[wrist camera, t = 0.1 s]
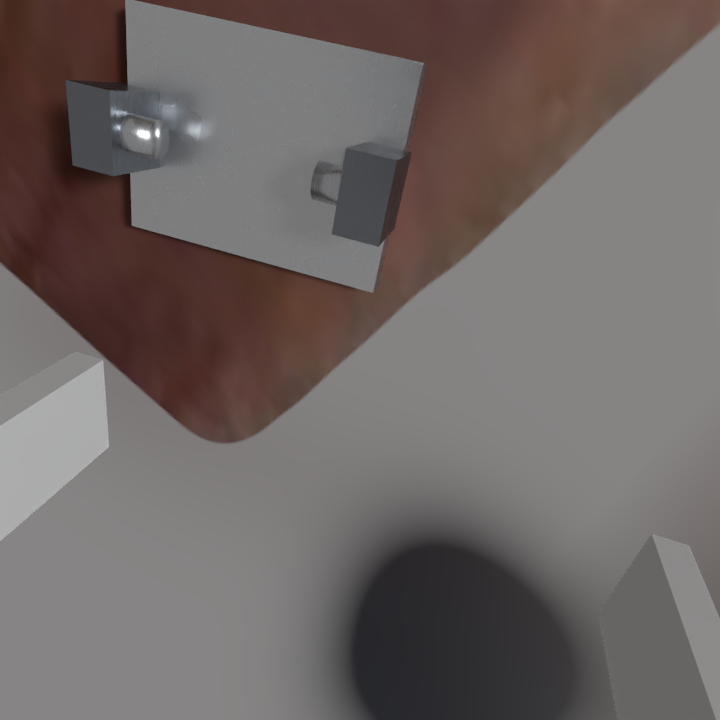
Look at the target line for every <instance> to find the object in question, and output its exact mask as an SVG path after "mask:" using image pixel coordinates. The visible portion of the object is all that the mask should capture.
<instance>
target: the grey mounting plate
mask: <svg viewBox="0 0 720 720" xmlns="http://www.w3.org/2000/svg"><path fill="white" fill-rule="evenodd" d="M125 6H126V41H127V76H128V85H127V84H123V83H112V82H94V81H76V80H66V90H67V102H68V115H69V127H70V139H71V151H72V164H73V166H77V167H81V168H84V169H88V170H92V171H96V172H99V173H103V174H107V175H111V176H117V175H123V174H128V173H130V180H131V215H132V226H135V227H138V228H142V229H145V230H149V231H153V232H156V233H160V234H163V235H167V236H171V237H174V238H178V239H181V240H185V241H188V242H192V243H196V244H199V245H203V246H206V247H210V248H214V249H217V250H221V251H224V252H228V253H232V254H235V255H239V256H242V257H246V258H250V259H253V260H257V261H260V262H264V263H267V264H271V265H275V266H278V267H282V268H285V269H289V270H293V271H296V272H300V273H303V274H307V275H311V276H314V277H318V278H321V279H325V280H328V281H332V282H336V283H339V284H343V285H346V286H350V287H354V288H357V289H361V290H364V291H368V292H372V293H373V292H374V291H375V289H376V288H377V286H378V285H379V281H380V276H381V272H382V267H383V263H384V258H385V254H386V249H387V245H388V241H389V236H390V233H391V232H392V231H393V230H394V228H395V224H396V219H397V215H398V210H399V206H400V202H401V197H402V193H403V188H404V184H405V180H406V175H407V171H408V166H409V162H410V158H411V152H408V151H409V147H410V142H411V138H412V133H413V129H414V125H415V120H416V116H417V111H418V107H419V102H420V98H421V93H422V89H423V84H424V80H425V75H426V71H427V67H428V65H427V64H425V63H422V62H417V61H413V60H408V59H403V58H399V57H394V56H389V55H385V54H380V53H376V52H371V51H366V50H362V49H357V48H352V47H348V46H343V45H339V44H334V43H329V42H325V41H320V40H315V39H311V38H306V37H302V36H297V35H292V34H288V33H283V32H278V31H274V30H269V29H265V28H260V27H255V26H251V25H246V24H241V23H237V22H232V21H227V20H223V19H218V18H214V17H209V16H204V15H200V14H195V13H190V12H186V11H181V10H177V9H172V8H167V7H163V6H158V5H153V4H149V3H144V2H140V1H135V0H125Z"/></svg>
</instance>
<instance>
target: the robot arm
mask: <svg viewBox="0 0 720 720" xmlns="http://www.w3.org/2000/svg"><path fill="white" fill-rule="evenodd" d="M108 447H109V440H108V425H107V410H106V395H105V379H104V364H103V360H102V359H99V358H96V357H93V356H89V355H86V354H83V353H80V352H77V351H75V352H73V353H72V354H70V355H68V356H67V357H65V358H63V359H61V360H60V361H58V362H56V363H54V364H53V365H51V366H49V367H48V368H46V369H44V370H42V371H41V372H39V373H37V374H36V375H34V376H32V377H30V378H28V379H27V380H25V381H23V382H22V383H20V384H18V385H16V386H15V387H13V388H11V389H9V390H8V391H6V392H4V393H3V394H1V395H0V541H1V540H2V539H3V538H4V537H6V536H7V535H8V534H9V533H10V532H11V531H12V530H14V529H15V528H16V527H17V526H18V525H19V524H21V523H22V522H23V521H24V520H25V519H26V518H27V517H29V516H30V515H31V514H32V513H33V512H34V511H36V510H37V508H39V507H40V506H41V505H42V504H44V503H45V502H46V501H47V500H48V499H49V498H51V497H52V496H53V495H54V494H55V493H56V492H57V491H58V490H60V489H61V488H62V487H63V486H64V485H65V484H67V483H68V482H69V481H70V480H71V479H72V478H73V477H75V476H76V475H77V474H78V473H79V472H80V471H81V470H83V469H84V468H85V467H86V466H87V465H88V464H90V463H91V462H92V461H93V460H94V459H95V458H96V457H98V456H99V455H100V454H101V453H102V452H103V451H105V450H106V449H107V448H108ZM598 617H599V623H600V628H601V633H602V639H603V644H604V649H605V655H606V660H607V666H608V671H609V677H610V681H611V687H612V692H613V698H614V703H615V709H616V714H617V720H720V618H719V616H718V613H717V611H716V609H715V606H714V604H713V602H712V599H711V597H710V594H709V592H708V590H707V587H706V585H705V583H704V580H703V578H702V576H701V573H700V571H699V568H698V566H697V564H696V561H695V559H694V557H693V554H692V552H691V549H690V547H689V546H688V545H685V544H682V543H679V542H676V541H673V540H669V539H666V538H663V537H660V536H657V535H654V534H651V536H650V537H649V539H648V540H647V541H646V543H645V545H644V546H643V547H642V549H641V550H640V552H639V553H638V555H637V556H636V558H635V559H634V561H633V562H632V564H631V565H630V567H629V568H628V570H627V571H626V573H625V574H624V575H623V577H622V579H621V580H620V581H619V583H618V584H617V586H616V587H615V589H614V590H613V592H612V593H611V595H610V596H609V598H608V599H607V600H606V602H605V603H604V605H603V606H602V608H601V609H600V611H599V613H598Z"/></svg>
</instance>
